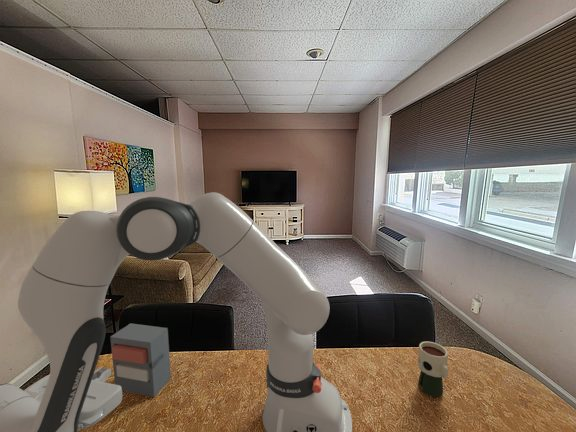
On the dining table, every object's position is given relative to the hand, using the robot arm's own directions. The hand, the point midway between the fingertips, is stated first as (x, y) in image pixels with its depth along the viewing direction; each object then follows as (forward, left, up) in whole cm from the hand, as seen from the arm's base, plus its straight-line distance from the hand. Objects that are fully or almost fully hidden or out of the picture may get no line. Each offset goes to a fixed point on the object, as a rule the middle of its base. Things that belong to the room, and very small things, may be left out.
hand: (106, 370), depth 63 cm
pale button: (0, -9, -8) cm, 12 cm away
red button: (0, -8, -2) cm, 8 cm away
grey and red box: (0, -11, -13) cm, 17 cm away
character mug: (-83, -25, -13) cm, 88 cm away
